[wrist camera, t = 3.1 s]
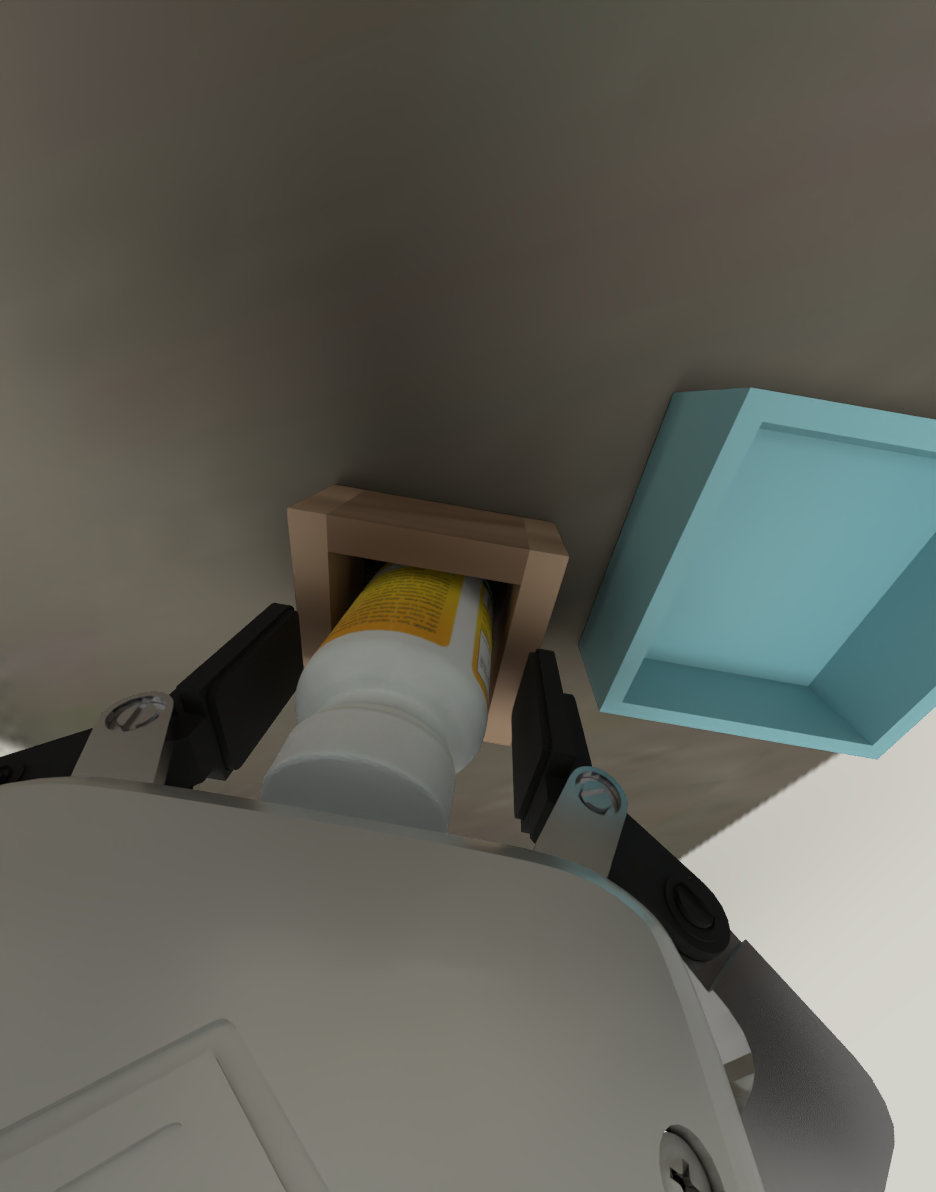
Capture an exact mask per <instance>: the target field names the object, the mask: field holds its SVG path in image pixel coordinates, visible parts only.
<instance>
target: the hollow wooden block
mask: <svg viewBox="0 0 936 1192" xmlns="http://www.w3.org/2000/svg"><path fill="white" fill-rule="evenodd" d="M287 517H288V527H289V538H290V548H291V558H292V568H293V578H294V589H295V599H296V609H297V612H298V614H299V623H300V633H301V644H302V654H303V665H304V668H305V666H306V665H307V663H308V662H309V660H310V659H311V657H312V656H313V655H314V654H315V652H316V651H317V650H318V648H319V647H320V646H321V645H322V643H323V642H324V641H325V639H326V638H327V637H328V635H329V634H330V633H331V632H332V630H333V629H334V628H335V626H336V625H337V624H338V623H339V621H340V620H341V619H342V617H343V616H344V614H345V613H346V612H347V611H348V609H349V608H350V607H351V605H352V604H353V603H354V601H355V600H356V599H357V597H358V596H359V595H360V593H361V592H362V591H363V590H364V561H365V558H367V559H373V560H379V561H385V562H390V563H396V564H402V565H408V566H413V567H419V568H425V569H431V570H437V571H442V572H448V573H454V574H460V575H465V576H471V577H477V578H483V579H488V580H494V581H500V582H506V583H508V586H507V590H506V594H505V598H504V603H503V607H502V611H501V616H500V620H499V624H498V629H497V633H496V637H495V641H494V646H493V650H492V654H491V669H490V688H489V707H488V721H487V727H486V732H485V736H484V739H483V741H484V742H490V743H496V744H502V745H507V746H510V744H511V741H512V727H511V715H512V709H513V706H514V702H515V699H516V695H517V692H518V689H519V685H520V682H521V679H522V675H523V672H524V668H525V665H526V662H527V658H528V655H529V653H530V652H535V651H536V649H541V645H542V642H543V639H544V636H545V633H546V630H547V626H548V623H549V620H550V617H551V614H552V611H553V607H554V604H555V601H556V598H557V595H558V591H559V588H560V585H561V582H562V579H563V576H564V572H565V569H566V566H567V563H568V560H569V555H568V553H567V550H566V548H565V546H564V544H563V542H562V539H561V537H560V535H559V533H558V530H557V528H556V526H555V524H554V523H553V522H547V521H542V520H536V519H530V518H524V517H519V516H513V515H507V514H501V513H496V512H490V511H484V510H478V509H473V508H467V507H461V506H455V505H450V504H444V503H438V502H432V501H426V500H421V499H415V498H409V497H403V496H398V495H392V494H386V493H380V492H375V491H369V490H363V489H357V488H352V487H346V486H340V485H333V486H331V487H328V488H326V489H324V490H322V491H320V492H318V493H316V494H314V495H312V496H310V497H308V498H306V499H304V500H302V501H300V502H297V503H295V504H293V505H291V506H289V507H287Z"/></svg>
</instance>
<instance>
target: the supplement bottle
mask: <svg viewBox="0 0 936 1192" xmlns="http://www.w3.org/2000/svg"><path fill="white" fill-rule="evenodd" d="M492 634H493V597H492V592H491V589H490V586H489V584H488V582H487V580H486V579H483V578H477V577H471V576H465V575H460V574H454V573H448V572H442V571H437V570H431V569H425V568H419V567H413V566H408V565H402V564H396V563H390V562H385V563H384V564H383V565H382V567H381V568H380V569H379V571H378V572H377V573H376V574H375V575H374V577H373V578H372V579H371V581H370V582H369V583H368V584H367V585H366V587H365V588H364V590H363V591H362V592H361V593H360V595H359V596H358V597H357V599H356V600H355V601H354V603H353V604H352V605H351V607H350V608H349V609H348V611H347V612H346V613H345V614H344V616H343V617H342V619H341V620H340V621H339V623H338V624H337V625H336V626H335V628H334V629H333V630H332V632H331V633H330V634H329V635H328V637H327V638H326V639H325V641H324V642H323V643H322V645H321V646H320V647H319V648H318V650H317V651H316V652H315V654H314V655H313V656H312V657H311V659H310V660H309V662H308V663H307V665H306V666H305V668H304V670H303V672H302V674H301V676H300V678H299V681H298V685H297V689H296V695H295V711H296V716H297V721H298V725H297V726H296V727H295V728H294V729H293V730H292V731H291V733H290V734H289V736H288V737H287V739H286V741H285V743H284V745H283V747H282V749H281V750H280V752H279V754H278V755H277V757H276V758H275V760H274V762H273V763H272V765H271V767H270V768H269V770H268V772H267V773H266V775H265V777H264V780H263V784H262V787H261V793H260V797H261V801H264V802H270V803H276V804H282V805H287V806H293V807H299V808H305V809H311V810H317V811H322V812H328V813H334V814H340V815H345V816H351V817H357V818H363V819H368V820H374V821H380V822H386V823H391V824H397V825H402V826H408V827H414V828H419V829H425V830H430V831H436V832H442V833H447V831H448V826H449V820H450V813H451V807H452V800H453V794H454V790H455V784H456V774H457V773H458V772H460V771H461V770H462V769H463V768H464V767H465V766H466V765H467V764H468V763H469V762H470V761H471V760H472V759H473V757H474V756H475V755H476V753H477V752H478V750H479V748H480V746H481V744H482V742H483V739H484V736H485V732H486V727H487V721H488V707H489V688H490V669H491V652H492Z"/></svg>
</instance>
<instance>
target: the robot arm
mask: <svg viewBox="0 0 936 1192" xmlns="http://www.w3.org/2000/svg"><path fill="white" fill-rule="evenodd" d="M303 670H304V665H303V654H302V644H301V633H300V623H299V614H298V612H297V611H294V608H293V607H292V606H290V605H284V604H278V603H273V604H271V605H270V606H269V607H267V608H266V609H265V610H264V611H263V612H262V613H261V614H259V615H258V616H257V617H256V618H255V619H254V620H252V621H251V622H250V623H249V624H248V625H247V626H246V627H244V628H243V629H242V630H241V631H240V632H239V633H237V634H236V635H235V636H234V637H233V638H232V639H231V640H229V641H228V642H227V643H226V644H225V645H224V646H223V647H221V648H220V649H219V650H218V651H217V652H216V653H214V654H213V655H212V656H211V657H210V658H209V659H208V660H206V661H205V662H204V663H203V664H202V665H201V666H199V667H198V668H197V669H196V670H195V671H194V672H193V673H191V674H190V675H189V676H188V677H187V678H186V679H185V680H183V681H182V682H181V683H180V684H179V685H178V686H176V689H175V690H174V691H173V692H172V693H171V694H169V695H168V694H166V693H163V692H155V691H154V692H143V693H139V694H135V695H132V696H129V697H127V698H124V699H122V700H120V701H118V702H116V703H114V704H113V705H111V706H110V707H108V708H107V709H106V710H105V711H104V712H102V714H101V715H100V716H99V718H98V719H97V721H96V723H95V725H94V727H93V728H91V729H88V730H85V731H82V732H79V733H75V734H72V735H69V736H66V737H63V738H60V739H56V740H53V741H50V742H47V743H44V744H41V745H37V746H34V747H31V748H28V749H25V750H22V751H18V752H15V753H12V754H9V755H6V756H2V757H0V1192H884V1190H885V1186H886V1181H887V1177H888V1172H889V1167H890V1163H891V1158H892V1153H893V1149H894V1126H893V1123H892V1120H891V1117H890V1115H889V1112H888V1109H887V1106H886V1103H885V1101H884V1100H883V1098H882V1096H881V1094H880V1093H879V1091H878V1089H877V1088H876V1086H875V1084H874V1083H873V1080H872V1079H871V1077H870V1076H869V1075H868V1074H867V1072H866V1071H865V1070H864V1069H863V1067H862V1066H861V1065H860V1063H859V1062H858V1061H857V1060H856V1058H855V1057H854V1056H853V1055H852V1054H851V1053H850V1052H849V1051H848V1050H847V1048H846V1047H845V1046H844V1045H843V1044H842V1043H841V1042H840V1041H839V1040H838V1039H837V1038H836V1036H835V1035H834V1034H833V1033H832V1032H831V1031H830V1030H829V1029H828V1028H827V1027H826V1026H825V1025H824V1023H823V1022H822V1021H821V1020H820V1019H819V1018H818V1017H817V1016H816V1015H815V1014H814V1013H813V1012H812V1010H810V1008H809V1007H808V1006H807V1005H806V1004H805V1003H804V1002H803V1001H802V1000H801V999H800V997H799V996H798V995H797V994H796V993H795V992H794V991H793V990H792V989H791V988H790V987H789V986H788V984H787V983H786V982H785V981H784V980H783V979H782V978H781V977H780V976H779V975H778V974H777V973H776V971H775V970H774V969H773V968H772V967H771V966H770V965H769V964H768V963H767V962H766V961H765V960H764V959H763V957H762V956H761V955H760V954H759V953H758V952H757V951H756V950H755V949H754V948H753V947H752V946H751V945H750V943H748V941H747V940H744V941H743V942H741V941H740V940H739V939H738V938H737V937H736V936H735V935H734V934H733V933H732V931H731V930H730V928H729V923H728V919H727V917H726V915H725V912H724V910H723V908H722V906H721V904H720V903H719V901H718V900H717V898H716V897H715V895H714V894H713V893H712V892H711V891H710V889H709V888H708V887H707V886H706V885H705V884H704V883H703V882H702V881H701V880H700V879H699V878H697V877H696V876H695V875H694V874H693V873H692V872H691V871H690V870H689V869H687V868H686V867H685V866H684V865H683V864H682V863H681V862H680V861H679V860H678V859H677V858H676V857H674V856H673V855H672V854H671V853H670V852H669V851H668V850H667V849H666V848H665V847H663V846H662V845H661V844H660V843H659V842H658V841H657V840H656V839H655V838H654V837H652V836H651V835H650V834H649V833H648V832H647V831H646V830H645V829H644V828H643V827H641V826H640V825H639V824H638V823H637V822H636V821H635V820H634V819H633V818H632V817H631V816H629V815H628V814H627V808H628V802H627V798H626V795H625V793H624V791H623V789H622V788H621V786H620V785H619V784H618V783H617V781H616V780H615V779H614V778H613V777H611V776H610V775H609V774H608V773H606V772H604V771H602V770H600V769H598V768H595V767H592V764H591V760H590V756H589V752H588V748H587V744H586V740H585V736H584V732H583V728H582V724H581V720H580V716H579V712H578V708H577V704H576V701H575V698H574V696H573V695H571V694H565V693H563V690H562V685H561V681H560V676H559V671H558V667H557V662H556V657H555V653H554V652H553V651H549V650H543V649H536V651H535V652H530V653H529V655H528V658H527V662H526V665H525V668H524V672H523V675H522V679H521V682H520V685H519V689H518V692H517V695H516V699H515V702H514V706H513V709H512V715H511V727H512V757H513V787H514V814H515V818H517V819H521V832H524V833H530V839H531V840H532V841H533V842H534V843H535V846H534V848H533V850H529V849H525V848H520V847H515V846H510V845H505V844H500V843H495V842H490V841H485V840H480V839H475V838H470V837H464V836H458V835H453V834H447V833H442V832H436V831H430V830H425V829H419V828H414V827H408V826H402V825H397V824H391V823H386V822H380V821H374V820H368V819H363V818H357V817H351V816H345V815H340V814H334V813H328V812H322V811H317V810H311V809H305V808H299V807H293V806H287V805H282V804H276V803H270V802H264V801H258V800H252V799H246V798H240V797H234V796H228V795H222V794H216V793H210V792H204V791H199V788H200V783H202V782H204V780H205V779H206V778H211V779H217V780H223V781H226V779H227V778H228V777H229V775H230V774H231V772H232V771H233V770H237V769H239V768H240V767H241V766H242V765H243V763H244V762H245V761H246V759H247V758H248V756H249V755H250V754H251V752H252V751H253V749H254V748H255V747H256V745H257V744H258V742H259V741H260V740H261V738H262V737H263V735H264V734H265V733H266V731H267V730H268V728H269V727H270V726H271V724H272V723H273V722H274V720H275V719H276V717H277V716H278V715H279V713H280V712H281V710H282V709H283V708H284V706H285V705H286V703H287V702H288V701H289V699H290V698H291V696H292V695H293V694H294V692H295V691H296V689H297V685H298V681H299V678H300V676H301V674H302V672H303ZM664 1131H667V1132H665V1133H663V1132H664Z"/></svg>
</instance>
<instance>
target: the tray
mask: <svg viewBox="0 0 936 1192" xmlns="http://www.w3.org/2000/svg"><path fill="white" fill-rule="evenodd" d="M578 646H579V649H580V652H581V656H582V659H583V662H584V665H585V668H586V671H587V674H588V677H589V680H590V683H591V687H592V690H593V693H594V696H595V699H596V702H597V705H598V708H599V711H600V712H606V713H611V714H617V715H623V716H629V717H634V718H640V719H646V720H652V721H658V722H663V723H669V724H675V725H681V726H687V727H692V728H698V729H704V730H710V731H715V732H721V733H727V734H733V735H739V736H744V737H750V738H756V739H762V740H767V741H773V742H779V743H785V744H791V745H796V746H802V747H808V748H814V749H820V750H825V751H831V752H837V753H843V754H848V755H854V756H860V757H866V758H872V759H878V758H879V757H880V756H881V755H883V754H884V753H885V752H886V751H887V750H888V749H889V748H890V747H891V746H893V745H894V744H895V743H896V742H897V741H898V740H899V739H900V738H901V737H903V736H904V735H905V734H906V733H907V732H908V731H909V730H910V729H911V728H912V727H914V726H915V725H916V724H917V723H918V722H919V721H920V720H921V719H922V718H923V717H925V716H926V715H927V714H928V713H929V712H930V711H931V710H932V709H933V708H935V707H936V420H934V419H929V418H923V417H917V416H911V415H906V414H900V413H894V412H888V411H883V410H877V409H871V408H866V407H860V406H854V405H848V404H843V403H837V402H831V401H826V400H820V399H814V398H808V397H803V396H797V395H791V394H785V393H780V392H774V391H768V390H763V389H757V388H751V387H750V388H735V389H720V390H705V391H690V392H676V393H673V396H672V398H671V401H670V403H669V406H668V409H667V411H666V414H665V417H664V419H663V422H662V425H661V427H660V430H659V433H658V435H657V438H656V441H655V443H654V446H653V449H652V451H651V454H650V456H649V459H648V462H647V464H646V467H645V470H644V472H643V475H642V478H641V480H640V483H639V486H638V488H637V491H636V494H635V496H634V499H633V502H632V504H631V507H630V509H629V512H628V515H627V517H626V520H625V523H624V525H623V528H622V531H621V533H620V536H619V539H618V541H617V544H616V547H615V549H614V552H613V554H612V557H611V560H610V562H609V565H608V568H607V570H606V573H605V576H604V578H603V581H602V584H601V586H600V589H599V592H598V594H597V597H596V600H595V602H594V605H593V607H592V610H591V613H590V615H589V618H588V621H587V623H586V626H585V629H584V631H583V634H582V637H581V639H580V642H579V645H578Z"/></svg>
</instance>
